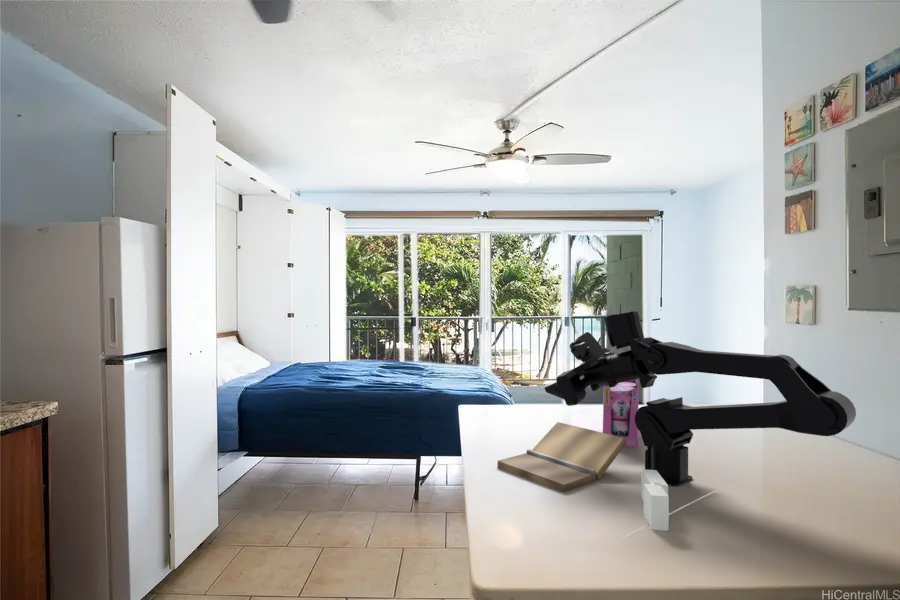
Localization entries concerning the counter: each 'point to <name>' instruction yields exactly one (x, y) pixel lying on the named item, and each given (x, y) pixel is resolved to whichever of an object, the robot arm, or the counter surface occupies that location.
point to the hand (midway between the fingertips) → (556, 382)
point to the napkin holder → (655, 499)
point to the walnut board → (548, 470)
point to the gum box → (621, 411)
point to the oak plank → (581, 446)
